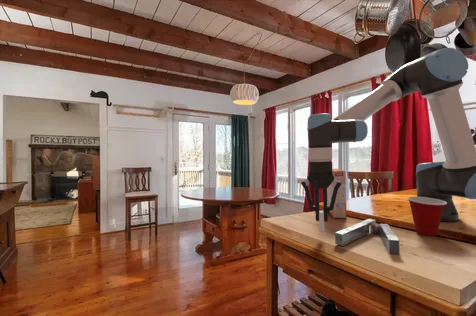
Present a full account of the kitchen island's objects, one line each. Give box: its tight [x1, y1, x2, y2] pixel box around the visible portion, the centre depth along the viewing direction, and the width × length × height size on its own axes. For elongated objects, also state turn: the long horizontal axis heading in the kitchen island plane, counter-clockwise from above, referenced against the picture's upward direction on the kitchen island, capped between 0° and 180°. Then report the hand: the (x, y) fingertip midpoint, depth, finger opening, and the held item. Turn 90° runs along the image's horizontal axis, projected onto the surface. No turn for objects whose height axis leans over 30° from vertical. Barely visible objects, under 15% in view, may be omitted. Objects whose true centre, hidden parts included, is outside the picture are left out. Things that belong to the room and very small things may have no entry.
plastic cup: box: [407, 196, 447, 237], centre depth 84 cm, size 11×11×12 cm
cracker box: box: [327, 168, 347, 219], centre depth 113 cm, size 14×6×21 cm, turn 168°
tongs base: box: [370, 223, 400, 256], centre depth 79 cm, size 5×20×4 cm, turn 158°
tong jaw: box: [334, 218, 377, 247], centre depth 83 cm, size 2×22×4 cm, turn 126°
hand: (322, 230), depth 82 cm, fingers closed
